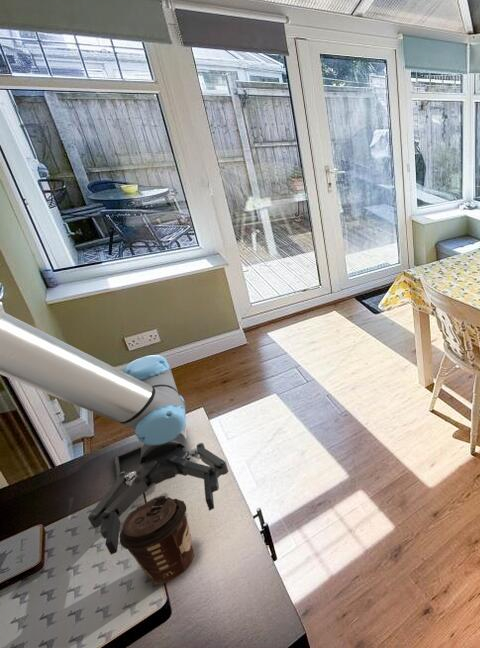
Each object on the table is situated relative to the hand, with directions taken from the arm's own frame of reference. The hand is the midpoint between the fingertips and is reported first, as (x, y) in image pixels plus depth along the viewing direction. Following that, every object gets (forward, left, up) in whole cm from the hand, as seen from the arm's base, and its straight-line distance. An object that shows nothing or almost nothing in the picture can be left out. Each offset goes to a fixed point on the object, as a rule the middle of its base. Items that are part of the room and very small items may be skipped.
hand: (163, 525), depth 72 cm
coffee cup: (+1, -2, -7) cm, 8 cm away
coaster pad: (-13, +23, -7) cm, 27 cm away
